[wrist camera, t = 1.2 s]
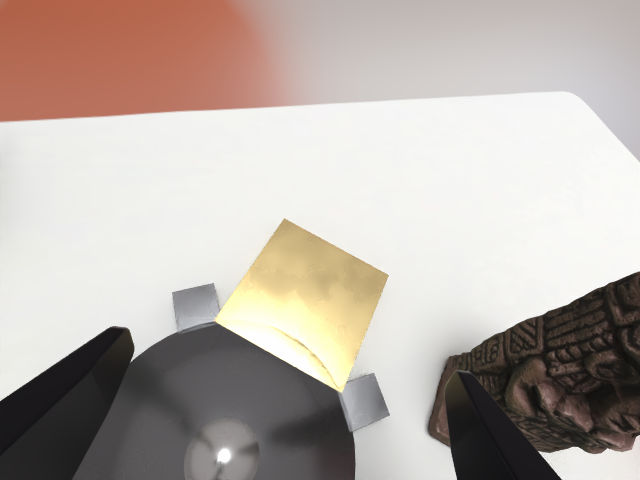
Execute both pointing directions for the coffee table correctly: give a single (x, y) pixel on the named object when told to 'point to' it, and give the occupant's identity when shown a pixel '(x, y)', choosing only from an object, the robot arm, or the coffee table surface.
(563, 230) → the coffee table surface
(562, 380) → the statue
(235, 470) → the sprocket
